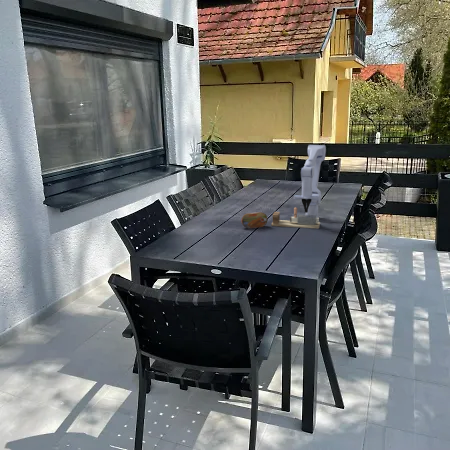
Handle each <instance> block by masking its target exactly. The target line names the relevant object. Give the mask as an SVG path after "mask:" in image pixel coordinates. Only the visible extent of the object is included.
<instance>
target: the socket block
mask: <svg viewBox="0 0 450 450" xmlns="http://www.w3.org/2000/svg"><path fill="white" fill-rule="evenodd" d="M280 215H281V212H280V211H274V212H273V214H272V222H273V224H278V223H279V221H280V220H281V219H280V217H281V216H280Z"/></svg>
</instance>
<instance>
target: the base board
mask: <svg viewBox="0 0 450 450" xmlns="http://www.w3.org/2000/svg"><path fill="white" fill-rule="evenodd" d="M270 225H271V227H284V228H299V229H300V228H305V229H320V226H321V221H319V223H316V225H299V224H298V222H290V220H287V219H286V220H284V219H283V220H282V219H280V221H279V223H278V224H273V221H272V222H271V224H270Z"/></svg>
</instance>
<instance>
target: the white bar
mask: <svg viewBox="0 0 450 450" xmlns="http://www.w3.org/2000/svg"><path fill="white" fill-rule="evenodd" d="M319 219H320V217H319V218H316V223H319V222H320V221H319ZM289 221H290V222H298V207H296V206H295V207H294V208H293V216H290V217H289Z"/></svg>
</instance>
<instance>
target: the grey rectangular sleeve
mask: <svg viewBox="0 0 450 450" xmlns="http://www.w3.org/2000/svg"><path fill="white" fill-rule="evenodd" d="M297 217H298V224H299V225H316V216H315V215H306V214H297Z"/></svg>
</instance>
